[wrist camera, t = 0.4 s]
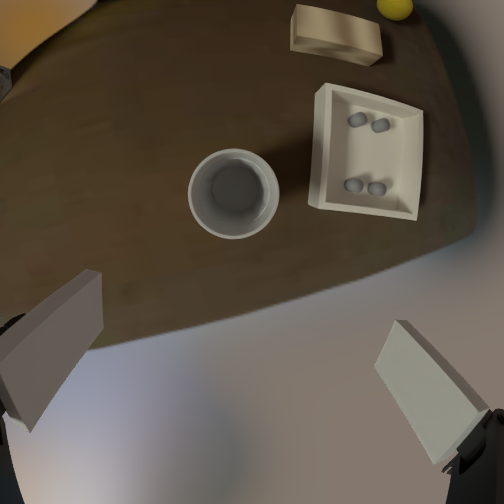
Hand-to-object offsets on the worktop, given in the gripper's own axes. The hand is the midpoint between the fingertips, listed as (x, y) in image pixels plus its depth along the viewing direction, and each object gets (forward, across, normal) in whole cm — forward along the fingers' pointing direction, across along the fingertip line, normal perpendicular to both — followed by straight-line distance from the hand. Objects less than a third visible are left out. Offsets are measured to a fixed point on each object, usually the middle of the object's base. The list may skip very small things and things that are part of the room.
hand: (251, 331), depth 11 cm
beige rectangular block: (+27, +7, +30) cm, 40 cm away
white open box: (+26, +14, +13) cm, 33 cm away
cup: (+27, -2, +4) cm, 27 cm away
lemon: (+27, +16, +41) cm, 51 cm away
